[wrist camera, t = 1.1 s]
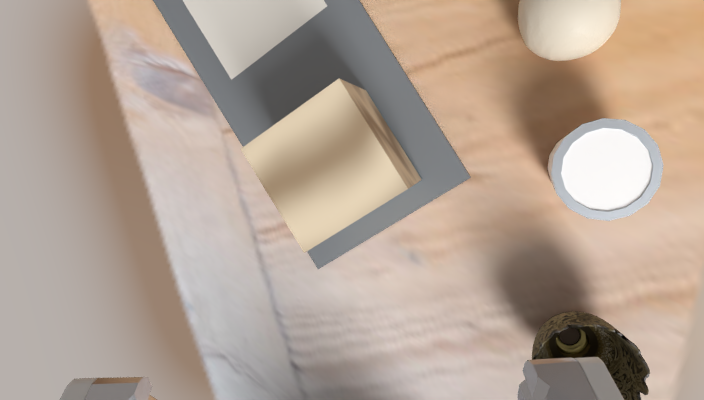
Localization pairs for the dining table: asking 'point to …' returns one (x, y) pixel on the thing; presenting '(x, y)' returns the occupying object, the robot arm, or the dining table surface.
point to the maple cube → (330, 163)
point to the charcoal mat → (312, 85)
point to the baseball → (567, 26)
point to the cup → (595, 349)
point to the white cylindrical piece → (606, 169)
